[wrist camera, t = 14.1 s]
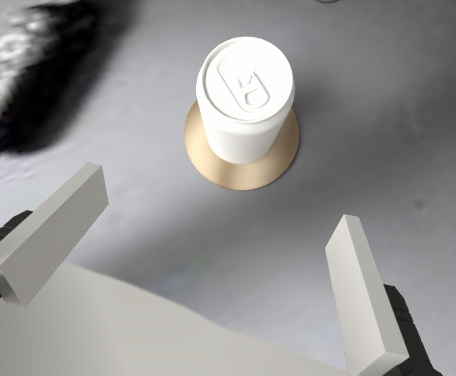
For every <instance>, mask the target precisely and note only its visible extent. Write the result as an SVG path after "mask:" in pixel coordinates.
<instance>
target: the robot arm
mask: <svg viewBox="0 0 456 376" xmlns="http://www.w3.org/2000/svg"><path fill="white" fill-rule="evenodd" d="M108 204H109V203H108V198H107V192H106V187H105V181H104V176H103V171H102V166H101V165H96V164H91V163H87V164H86V165H85V166H84V167H83V168H82V169H81V170H79V171H78V172H77V173H76V174H75V175H74V176H73V177H72V178H70V179H69V180H68V181H67V182H66V183H65V184H64V185H63V186H62V187H60V188H59V189H58V190H57V191H56V192H55V193H54V194H53V195H52V196H50V197H49V198H48V199H47V200H46V201H45V202H44V203H43V204H42V205H40V206H39V207H38V208H37V209H36V210H35V211H34V212H33V211H28V210H26V211H24V212H22V213H20V214H18V215H16V216H14V217H13V218H12V219H11V220H9V221H8V222H7V223H6V224H5V225H3V227H1V228H0V298H1V297H2V298H3V300H4V301H5V302H6V304H8V305H12V306H16V307H21V308H26V307H27V305H28V304H29V303H30V302H31V300H32V299H33V298H34V297H35V295H36V294H37V293H38V292H39V290H40V289H41V288H42V286H43V285H44V284H45V283H46V282H47V280H48V279H49V278H50V277H51V275H52V274H53V273H54V272H55V270H56V269H57V268H58V266H59V265H60V264H61V263H62V262H63V260H64V259H65V258H66V257H67V255H68V254H69V253H70V252H71V250H72V249H73V248H74V247H75V245H76V244H77V243H78V242H79V240H80V239H81V238H82V237H83V235H84V234H85V233H86V232H87V230H88V229H89V228H90V227H91V225H92V224H93V223H94V222H95V220H96V219H97V218H98V217H99V215H100V214H101V213H102V212H103V210H104V209H105V208H106V207H107V205H108ZM325 251H326V256H327V261H328V267H329V272H330V277H331V283H332V288H333V293H334V298H335V304H336V309H337V314H338V320H339V325H340V330H341V336H342V341H343V346H344V351H345V357H346V362H347V367H348V373H349V376H443V375H442V374H441V373H440V372H438V371H437V370H435V369H434V368H433V366H432V364H431V362H430V360H429V358H428V355H427V353H426V351H425V348H424V346H423V343H422V341H421V339H420V336H419V334H418V331H417V329H416V326H415V324H413V319H412V317H411V314H410V313H409V310H408V307H407V305H406V302H405V300H404V298H403V297H402V295H401V294H400V293H399V292H398V290H397V289H396V288H395V286H390V285H385V284H383V283H382V280H381V277H380V274H379V272H378V269H377V266H376V263H375V261H374V258H373V255H372V253H371V250H370V247H369V244H368V242H367V239H366V236H365V233H364V231H363V228H362V225H361V222H360V220H359V217H356V216H351V215H346V214H344V215H343V217H342V219H341V220H340V222H339V224H338V226H337V228H336V229H335V231H334V233H333V235H332V237H331V238H330V240H329V242H328V244H327V246H326V248H325Z"/></svg>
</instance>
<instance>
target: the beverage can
mask: <svg viewBox="0 0 456 376" xmlns="http://www.w3.org/2000/svg"><path fill="white" fill-rule="evenodd" d="M196 93H197V99H198V103H199V107H200V111H201V115H202V119H203V123H204V127H205V131H206V135H207V139H208V142H209V145H210V147H211V148H212V150H213V151H214V152H215V153H216V154H217V155H218V156H219V157H220V158H222V159H223V160H225V161H227V162H230V163H234V164H248V163H252V162H254V161H256V160H258V159H260V158H261V157H263V156H264V155H265V154H266V153H267V152H268V150H269V149H270V147H271V145H272V144H273V142H274V140H275V138H276V136H277V134H278V132H279V130H280V128H281V126H282V124H283V122H284V120H285V118H286V117H287V115H288V113H289V111H290V109H291V106H292V104H293V100H294V95H295V83H294V78H293V75H292V70H291V67H290V64H289V62H288V60H287V58H286V57H285V55H284V54H283V53H282V52H281V51H280V50H279V49H278V48H277V47H276V46H274V45H273V44H271V43H269V42H267V41H265V40H262V39H259V38H254V37H238V38H234V39H230V40H228V41H226V42H224V43H222V44H220V45H219V46H217V47H216V48H215V49H214V50H213V51H212V52H211V53H210V54H209V55H208V57H207V58H206V60H205V62H204V64H203V66H202V68H201V70H200V73H199V75H198V79H197V86H196Z"/></svg>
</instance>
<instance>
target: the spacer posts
mask: <svg viewBox="0 0 456 376" xmlns="http://www.w3.org/2000/svg"><path fill="white" fill-rule="evenodd" d="M317 1H319V2H322V3H332V2H335V1H337V0H317Z"/></svg>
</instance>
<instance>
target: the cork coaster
mask: <svg viewBox="0 0 456 376" xmlns="http://www.w3.org/2000/svg"><path fill="white" fill-rule="evenodd" d="M184 138H185V145H186V149H187V152H188V155H189V157H190V159H191V161H192V163H193V164H194V166H195V167H196V168H197V170H198V171H199V172H200V173H201V174H202V175H203V176H204V177H205V178H207V179H208V180H209V181H211V182H213V183H215V184H216V185H219V186H221V187H224V188H228V189H233V190H251V189H256V188H260V187H262V186H265V185H267V184H269V183H271V182H273V181H274V180H275V179H277V178H278V177H279V176H281V175H282V173H283V172H284V171H285V170H286V169H287V168H288V167H289V165H290V164H291V162H292V161H293V159H294V157H295V154H296V152H297V148H298V144H299V126H298V121H297V118H296V115H295V113H294V111H293V108H292V107H291V109H290V111H289V113H288V115H287V117H286V118H285V120H284V122H283V124H282V126H281V128H280V130H279V132H278V134H277V136H276V138H275V140H274V142H273V144H272V145H271V147H270V149H269V150H268V152H267V153H266V154H265V155H264V156H263V157H261V158H260V159H258V160H256V161H254V162H252V163H248V164H234V163H230V162H227V161H225V160H223V159H222V158H220V157H219V156H218V155H217V154H216V153H215V152H214V151H213V150H212V148H211V147H210V145H209V142H208V139H207V135H206V131H205V127H204V123H203V119H202V115H201V111H200V107H199V103H198V99H197V100H196V102H195V103H194V104H193V106H192V108H191V109H190V111H189V114H188V116H187V119H186V123H185V129H184Z"/></svg>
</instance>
